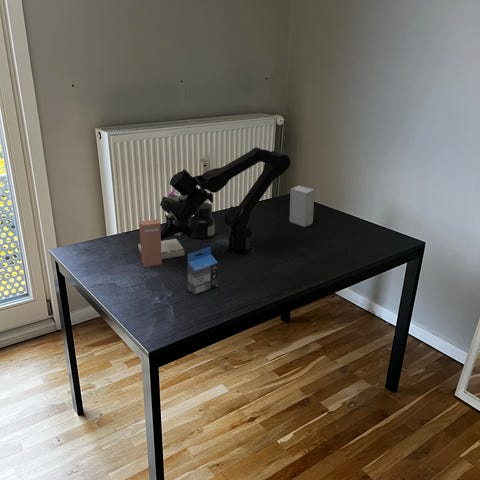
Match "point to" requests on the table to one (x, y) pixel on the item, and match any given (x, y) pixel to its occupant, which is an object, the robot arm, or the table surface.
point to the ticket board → (169, 249)
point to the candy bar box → (177, 196)
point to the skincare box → (301, 205)
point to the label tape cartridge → (202, 271)
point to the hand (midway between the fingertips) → (160, 238)
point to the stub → (150, 242)
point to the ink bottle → (203, 222)
